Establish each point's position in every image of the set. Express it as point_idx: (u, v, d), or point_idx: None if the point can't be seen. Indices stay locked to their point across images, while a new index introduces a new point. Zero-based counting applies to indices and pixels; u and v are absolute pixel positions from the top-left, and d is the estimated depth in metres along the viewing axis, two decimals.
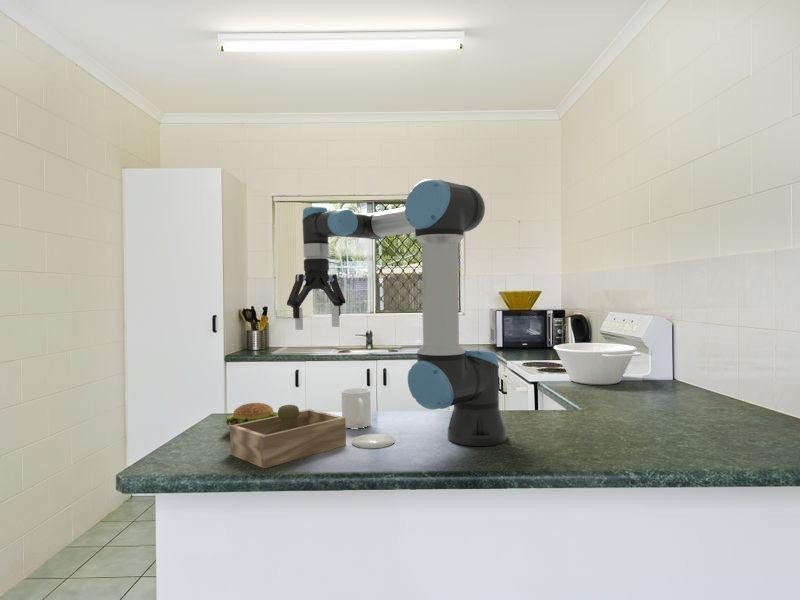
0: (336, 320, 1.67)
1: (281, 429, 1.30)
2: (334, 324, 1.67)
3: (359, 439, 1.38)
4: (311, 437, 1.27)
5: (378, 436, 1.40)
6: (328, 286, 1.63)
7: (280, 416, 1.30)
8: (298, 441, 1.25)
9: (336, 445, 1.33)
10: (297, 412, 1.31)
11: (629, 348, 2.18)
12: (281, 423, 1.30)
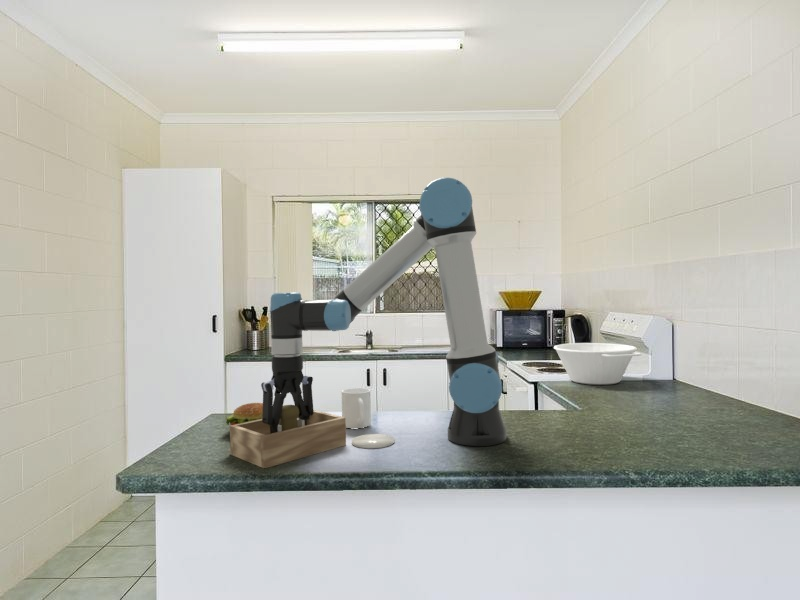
0: None
1: None
2: None
3: (359, 439, 1.38)
4: (311, 437, 1.27)
5: (378, 436, 1.40)
6: (299, 391, 1.32)
7: (280, 416, 1.30)
8: (298, 441, 1.25)
9: (336, 445, 1.33)
10: (297, 412, 1.31)
11: (629, 348, 2.18)
12: (281, 423, 1.30)
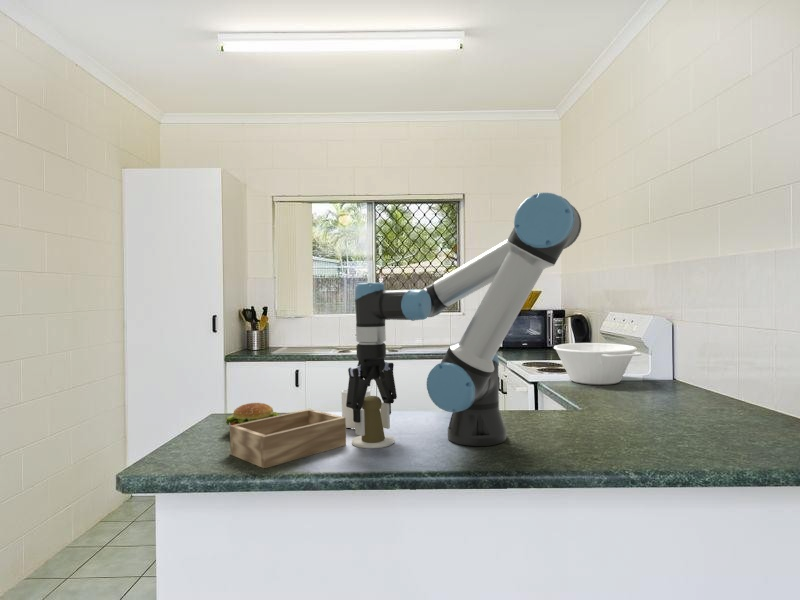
0: (386, 421, 1.39)
1: (366, 420, 1.35)
2: (383, 424, 1.40)
3: (359, 439, 1.38)
4: (311, 437, 1.27)
5: None
6: (383, 377, 1.37)
7: (364, 408, 1.34)
8: (298, 441, 1.25)
9: (336, 445, 1.33)
10: (380, 403, 1.35)
11: (629, 348, 2.18)
12: (365, 414, 1.35)
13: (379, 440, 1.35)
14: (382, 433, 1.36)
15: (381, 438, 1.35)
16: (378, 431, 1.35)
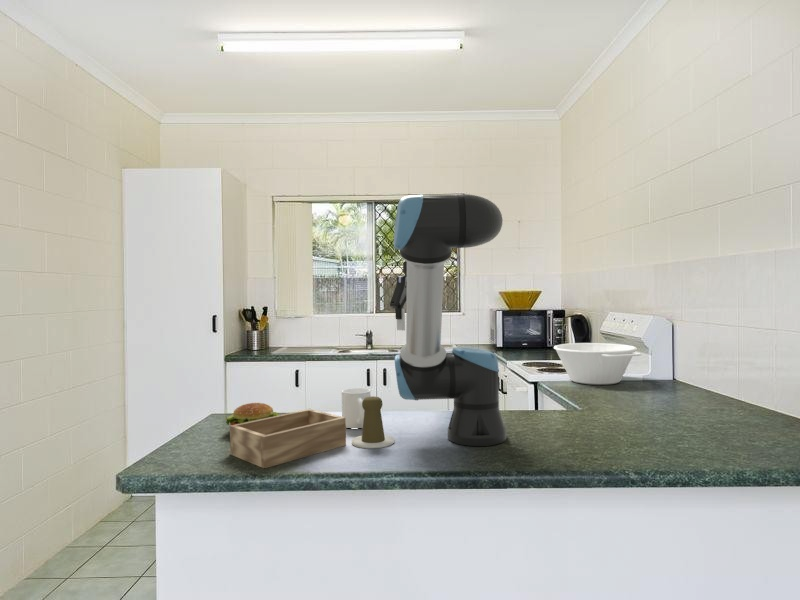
0: None
1: (366, 420, 1.35)
2: None
3: (359, 439, 1.38)
4: (311, 437, 1.27)
5: None
6: None
7: (365, 407, 1.35)
8: (298, 441, 1.25)
9: (336, 445, 1.33)
10: (381, 403, 1.36)
11: (629, 348, 2.18)
12: (366, 414, 1.36)
13: (379, 440, 1.35)
14: (382, 434, 1.36)
15: (381, 439, 1.35)
16: (378, 431, 1.35)
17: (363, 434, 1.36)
